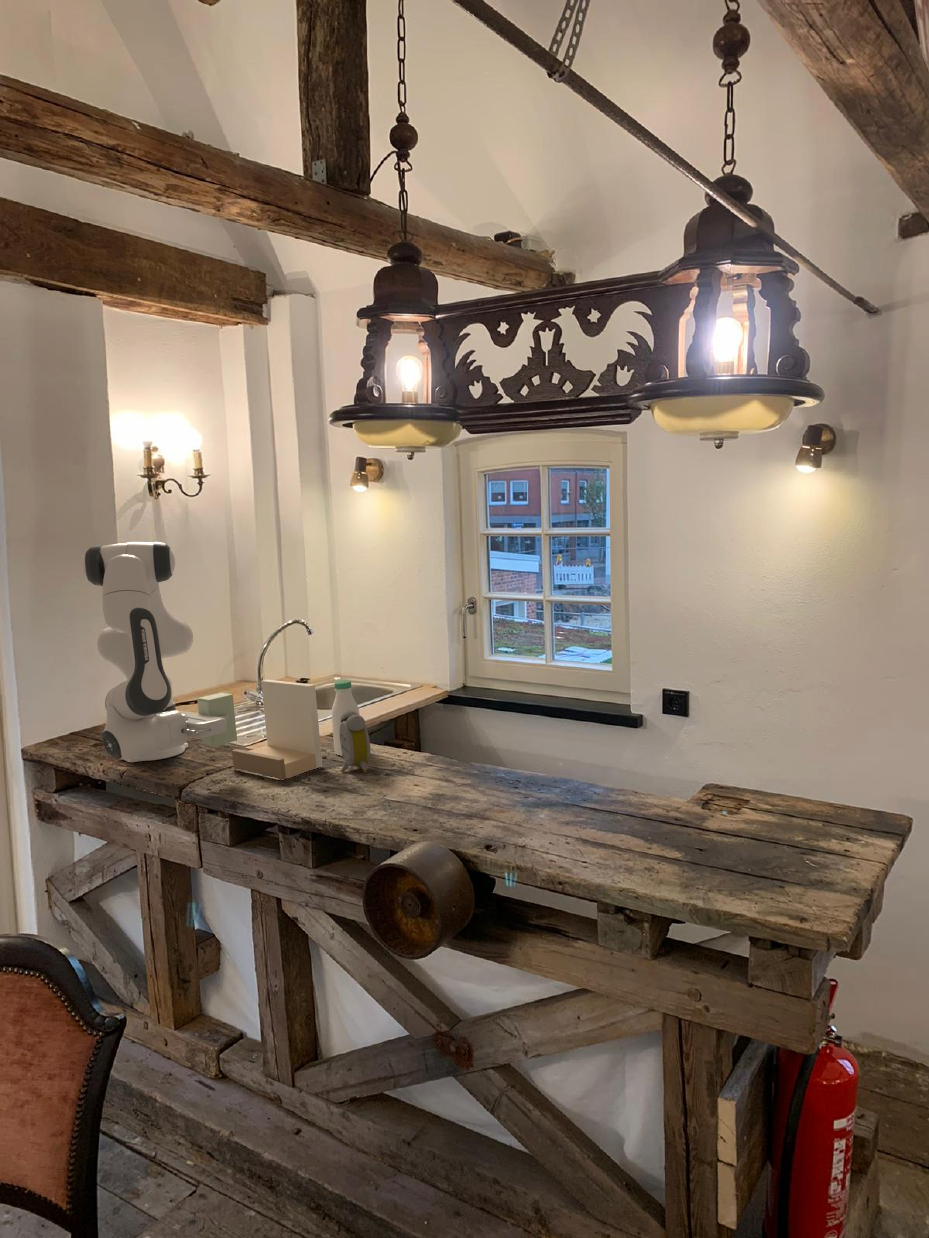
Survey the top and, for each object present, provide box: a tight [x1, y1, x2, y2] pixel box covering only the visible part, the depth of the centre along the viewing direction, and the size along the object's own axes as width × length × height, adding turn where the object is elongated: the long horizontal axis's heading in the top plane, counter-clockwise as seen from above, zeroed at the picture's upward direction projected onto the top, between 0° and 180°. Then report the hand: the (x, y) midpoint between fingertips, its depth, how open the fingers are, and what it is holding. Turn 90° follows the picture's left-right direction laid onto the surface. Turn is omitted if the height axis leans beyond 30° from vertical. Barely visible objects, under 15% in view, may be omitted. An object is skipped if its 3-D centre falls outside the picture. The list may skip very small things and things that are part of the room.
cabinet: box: [197, 692, 238, 748], centre depth 219 cm, size 5×8×12 cm, turn 140°
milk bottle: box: [331, 680, 361, 757], centre depth 238 cm, size 8×8×20 cm
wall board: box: [231, 679, 323, 780], centre depth 227 cm, size 20×14×22 cm
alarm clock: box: [340, 710, 371, 774], centre depth 221 cm, size 12×7×15 cm, turn 22°
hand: (220, 716), depth 221 cm, fingers closed on cabinet, 5 cm apart
